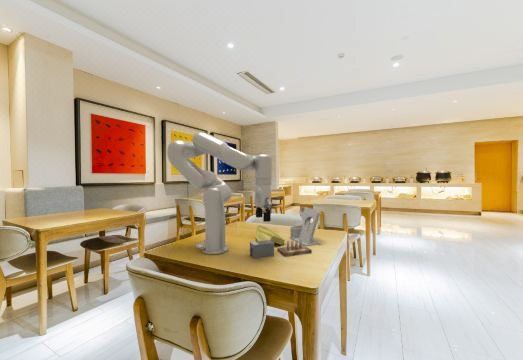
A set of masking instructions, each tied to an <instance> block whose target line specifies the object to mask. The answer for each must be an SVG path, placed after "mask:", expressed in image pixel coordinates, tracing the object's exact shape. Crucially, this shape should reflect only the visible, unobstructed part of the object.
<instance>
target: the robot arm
mask: <svg viewBox="0 0 523 360" xmlns="http://www.w3.org/2000/svg"><path fill="white" fill-rule="evenodd" d="M166 152H167V153H166V155H167V159H168V161H169V163H170V164H171V166H172V167H173V168H174V169H175V170H177V172H178V173H180V175H182V176H183V178H184V179H185V180H186V181H187V182H188V183H190V185H191V186H192V187H193V188H195V189H196V190H200V191H201V190H204V192H203V193H202V198H203V205H204V221H205V222H204V223H205V224H204V225H205V226H204V227H205V231H204V232H205V236H204V237H205V240H204V241H202V242H201V243H199V242H197V243H195V249H197V248H198V249H201V252H202V253H203V254H206V255H220V254H221V255H222V254H224V253H226V252H228V251H229V245H227V244H226V210H225V209H226V208H225V206H224V204H226V203H228V202H229V201H230V200H231V198H232V195H233V194H232V189H231V188H230V186H229V185H228V184H227V183H226V182H225V181H224V180H222V179H221V177H219V175H217V174H216V173H215V172H213V171H210V170H203V169H202V168H201V167H200V166H198V165H197V163H195V162H194V161H192V160H191V159H195V158H198V157H200V156H203V155H205V154H208V155H210V156H212V157H214V158H216V159H218V161H221V162H222V163H224V164H226V165H228V166H230V167H232V168H234V169H236V170H238V171H243V172H250V171H254V186H255V187H254V200H253V201H254V204H253V205H254V206H255V218H257V219H259V218H263V223H266V222H268V223H269V222H271V220H272V219H271V216H272V206H273V204H272V189H271V187H272V161H273V160H272V159H273V158H272V156H271V155H270V154H257V155H252V154H248V153H244V152H242V151H240V150H237V149H235V148H233V147H231V146H229V145H228V143H227V142H225V141H224V140H221V139H219V138H216V137H215V136H214V135H212V134H209V133H206V132H203V131H199V132H196V133H194V135H193V136H192V139H191V141H187V140H181V139H176V140H172V141H171V142H169V144H168V146H167V151H166ZM263 211H264V212H263Z"/></svg>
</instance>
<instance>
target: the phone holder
mask: <svg viewBox="0 0 523 360" xmlns="http://www.w3.org/2000/svg"><path fill="white" fill-rule="evenodd" d="M299 215H300V217H301V221H302V223H303V224H302V225H297V226H291V227H290V236H289V239H290V240H291V241H294V242H295V240H298V244H299V240H302V245H304V246H306V247H310V246H311V247H312V246H317V245H321V241H319V240H316V239H314V234H315V231H316V228H317V225H318V221H319V219H320V215H321V213H320V210H318V209H315V208H313V207H306V206H301V207H300V209H299ZM311 220H312V222H311Z"/></svg>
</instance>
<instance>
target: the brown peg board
mask: <svg viewBox="0 0 523 360" xmlns="http://www.w3.org/2000/svg"><path fill="white" fill-rule="evenodd" d="M276 251H277V252H278V253H279V254H280V255H282V256H283V257H285V258H286V257H293V256H300V255H308V254H312V249H311V248H309V247H308V246H304V245H302V240H299V243H298V240H295V241H294V240H290V241H289V240H287V241H286V246H284V247H277V249H276Z"/></svg>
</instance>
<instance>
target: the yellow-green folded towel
mask: <svg viewBox="0 0 523 360" xmlns="http://www.w3.org/2000/svg"><path fill="white" fill-rule="evenodd" d="M255 237H256V241H266V240H271V241H272V242H273V243H274V244H277V245H280V246H283V245H284V243H285V239H284V238H283V237H282V236H281V235H279V234H278V233H276V232H275V231H274V230H272V229H269V227H268V228H267V227H266V226H263V225H260V224H258V225H257V226H256V231H255Z"/></svg>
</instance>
